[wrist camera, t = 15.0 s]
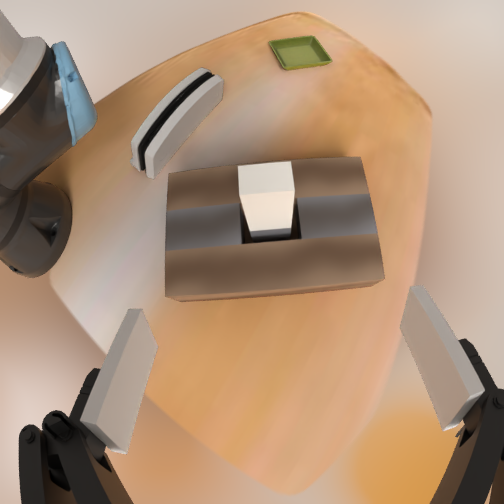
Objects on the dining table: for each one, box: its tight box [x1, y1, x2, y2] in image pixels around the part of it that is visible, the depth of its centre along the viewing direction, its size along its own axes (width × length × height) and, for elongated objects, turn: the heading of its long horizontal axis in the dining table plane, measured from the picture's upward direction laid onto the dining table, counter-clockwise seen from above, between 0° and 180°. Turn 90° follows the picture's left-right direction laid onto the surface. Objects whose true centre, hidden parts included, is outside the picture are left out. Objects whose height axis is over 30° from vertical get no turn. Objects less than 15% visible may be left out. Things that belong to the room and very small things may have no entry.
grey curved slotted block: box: [130, 68, 224, 179], centre depth 37 cm, size 17×5×10 cm, turn 147°
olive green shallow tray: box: [269, 36, 332, 70], centre depth 43 cm, size 9×9×2 cm
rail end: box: [238, 161, 295, 243], centre depth 28 cm, size 2×4×13 cm, turn 94°
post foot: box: [165, 157, 385, 302], centre depth 33 cm, size 14×22×5 cm, turn 94°
